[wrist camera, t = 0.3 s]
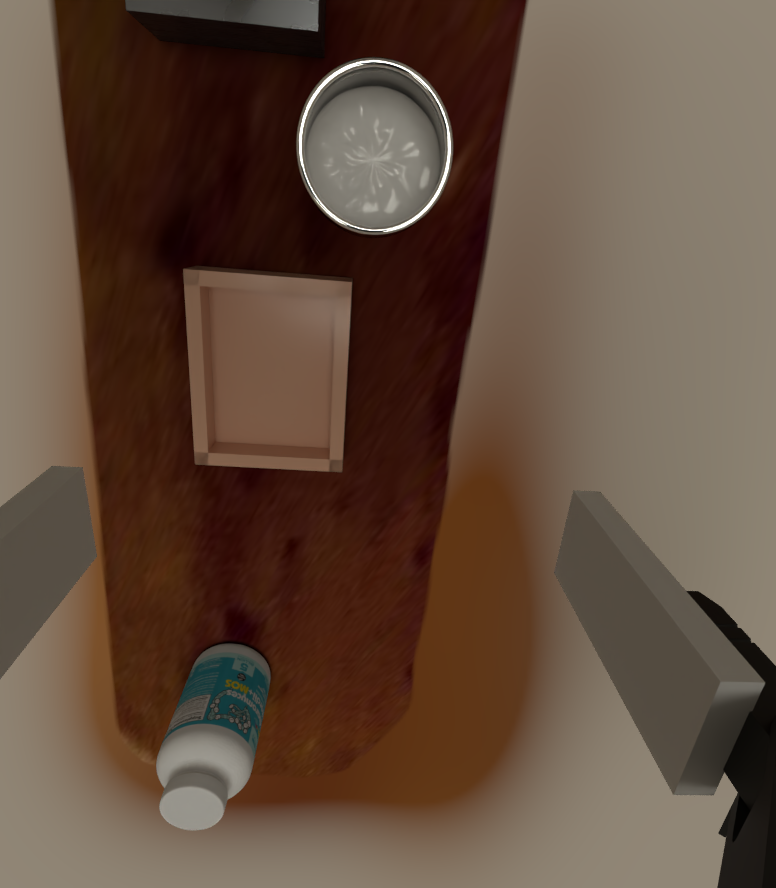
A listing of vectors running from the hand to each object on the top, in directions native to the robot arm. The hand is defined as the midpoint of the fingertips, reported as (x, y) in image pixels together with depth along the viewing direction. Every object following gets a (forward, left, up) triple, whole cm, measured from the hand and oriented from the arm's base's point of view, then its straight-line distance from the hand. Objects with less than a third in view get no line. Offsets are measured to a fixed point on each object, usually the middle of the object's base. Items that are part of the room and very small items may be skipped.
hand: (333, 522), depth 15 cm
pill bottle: (+33, -10, -28) cm, 44 cm away
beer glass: (-10, +1, -28) cm, 30 cm away
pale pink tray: (+3, -6, -27) cm, 28 cm away
